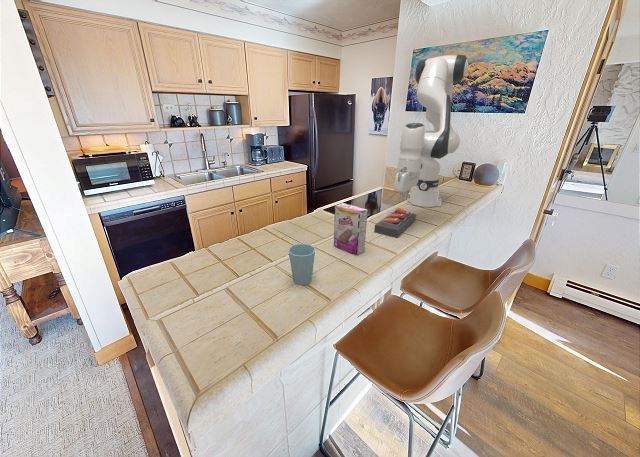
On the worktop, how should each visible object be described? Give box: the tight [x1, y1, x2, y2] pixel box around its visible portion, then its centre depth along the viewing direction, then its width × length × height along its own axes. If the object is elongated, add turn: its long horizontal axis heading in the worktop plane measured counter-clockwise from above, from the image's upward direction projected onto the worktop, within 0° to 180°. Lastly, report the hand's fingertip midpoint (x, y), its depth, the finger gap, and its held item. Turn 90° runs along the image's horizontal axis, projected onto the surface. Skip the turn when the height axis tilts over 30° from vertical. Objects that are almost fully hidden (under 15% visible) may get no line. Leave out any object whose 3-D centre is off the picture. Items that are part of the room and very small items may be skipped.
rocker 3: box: [394, 207, 411, 215], centre depth 123 cm, size 3×6×1 cm, turn 54°
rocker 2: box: [389, 213, 405, 218], centre depth 118 cm, size 3×6×1 cm, turn 54°
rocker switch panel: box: [373, 210, 417, 239], centre depth 120 cm, size 28×10×4 cm, turn 144°
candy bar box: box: [333, 202, 369, 256], centre depth 96 cm, size 11×5×16 cm, turn 47°
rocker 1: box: [383, 218, 399, 223], centre depth 113 cm, size 3×6×1 cm, turn 54°
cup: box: [287, 243, 316, 286], centre depth 78 cm, size 8×8×10 cm
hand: (404, 199), depth 113 cm, fingers closed
